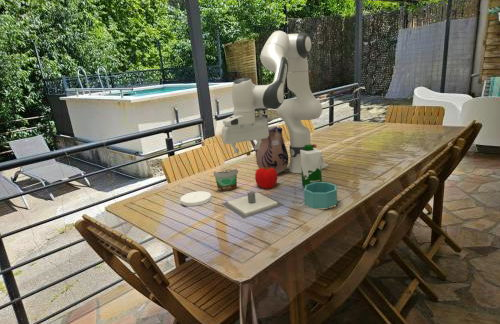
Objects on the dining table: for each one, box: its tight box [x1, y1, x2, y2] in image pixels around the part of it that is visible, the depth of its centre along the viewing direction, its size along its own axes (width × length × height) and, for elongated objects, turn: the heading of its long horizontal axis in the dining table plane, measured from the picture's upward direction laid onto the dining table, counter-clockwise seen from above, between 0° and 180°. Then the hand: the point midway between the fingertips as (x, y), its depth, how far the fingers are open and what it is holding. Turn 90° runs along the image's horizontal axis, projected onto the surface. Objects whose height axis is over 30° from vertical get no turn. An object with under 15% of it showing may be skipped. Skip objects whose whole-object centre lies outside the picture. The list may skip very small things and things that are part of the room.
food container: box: [213, 167, 239, 193], centre depth 168 cm, size 12×6×10 cm, turn 105°
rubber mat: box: [221, 192, 285, 219], centre depth 149 cm, size 20×20×1 cm
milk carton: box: [300, 144, 323, 188], centre depth 161 cm, size 9×9×20 cm
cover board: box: [226, 191, 279, 215], centre depth 148 cm, size 16×16×5 cm
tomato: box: [254, 167, 278, 190], centre depth 169 cm, size 11×13×10 cm
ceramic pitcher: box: [250, 125, 289, 175], centre depth 188 cm, size 18×21×25 cm
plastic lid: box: [179, 191, 212, 207], centre depth 159 cm, size 14×14×2 cm
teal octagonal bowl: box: [303, 181, 338, 209], centre depth 144 cm, size 13×13×7 cm
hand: (246, 151), depth 145 cm, fingers open, 8 cm apart
